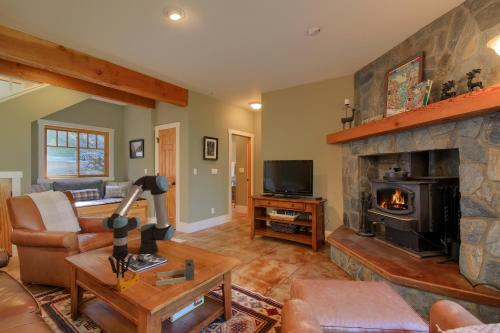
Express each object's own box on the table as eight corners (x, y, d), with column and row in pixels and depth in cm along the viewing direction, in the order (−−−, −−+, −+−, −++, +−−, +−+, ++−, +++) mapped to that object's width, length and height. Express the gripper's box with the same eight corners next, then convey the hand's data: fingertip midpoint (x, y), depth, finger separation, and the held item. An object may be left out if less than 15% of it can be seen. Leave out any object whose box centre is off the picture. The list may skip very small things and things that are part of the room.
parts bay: (157, 276, 153) (157, 272, 153) (184, 273, 158) (184, 269, 158) (155, 285, 141) (155, 281, 141) (185, 281, 146) (185, 277, 146)
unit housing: (185, 273, 157) (185, 258, 157) (193, 272, 159) (193, 257, 159) (185, 280, 147) (185, 265, 147) (194, 279, 148) (194, 264, 149)
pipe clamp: (121, 291, 135) (121, 280, 135) (117, 289, 137) (117, 278, 137) (140, 282, 145) (140, 272, 145) (136, 281, 147) (136, 270, 147)
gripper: (106, 247, 135) (106, 288, 135) (131, 244, 139) (131, 285, 139) (109, 243, 143) (109, 282, 142) (133, 241, 147) (133, 279, 146)
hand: (120, 283), depth 141 cm, fingers closed
